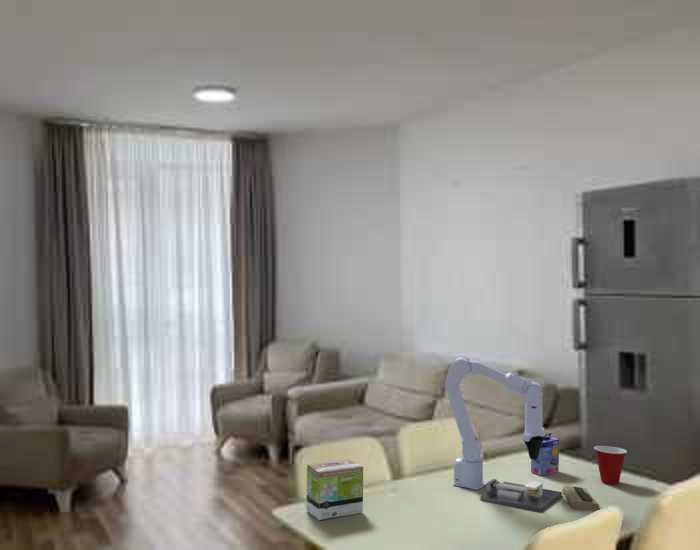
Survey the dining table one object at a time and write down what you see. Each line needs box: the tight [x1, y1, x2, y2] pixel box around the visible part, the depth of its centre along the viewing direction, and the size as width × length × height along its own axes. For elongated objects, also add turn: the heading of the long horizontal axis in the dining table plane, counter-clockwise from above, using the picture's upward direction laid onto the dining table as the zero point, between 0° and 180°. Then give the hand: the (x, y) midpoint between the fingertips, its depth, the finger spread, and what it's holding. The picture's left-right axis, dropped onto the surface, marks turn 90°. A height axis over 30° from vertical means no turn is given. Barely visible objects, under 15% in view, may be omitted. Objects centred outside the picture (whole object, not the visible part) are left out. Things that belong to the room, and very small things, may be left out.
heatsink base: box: [480, 478, 563, 513], centre depth 231 cm, size 20×19×4 cm
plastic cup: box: [593, 445, 628, 486], centre depth 247 cm, size 11×11×12 cm
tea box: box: [305, 458, 364, 521], centre depth 219 cm, size 15×10×15 cm, turn 117°
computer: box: [561, 485, 600, 511], centre depth 228 cm, size 16×8×3 cm, turn 175°
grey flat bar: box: [492, 480, 539, 494], centre depth 230 cm, size 15×4×1 cm, turn 54°
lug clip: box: [524, 480, 544, 497], centre depth 229 cm, size 4×6×4 cm, turn 144°
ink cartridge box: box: [530, 432, 560, 477], centre depth 259 cm, size 10×6×14 cm, turn 125°
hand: (533, 458), depth 240 cm, fingers closed
